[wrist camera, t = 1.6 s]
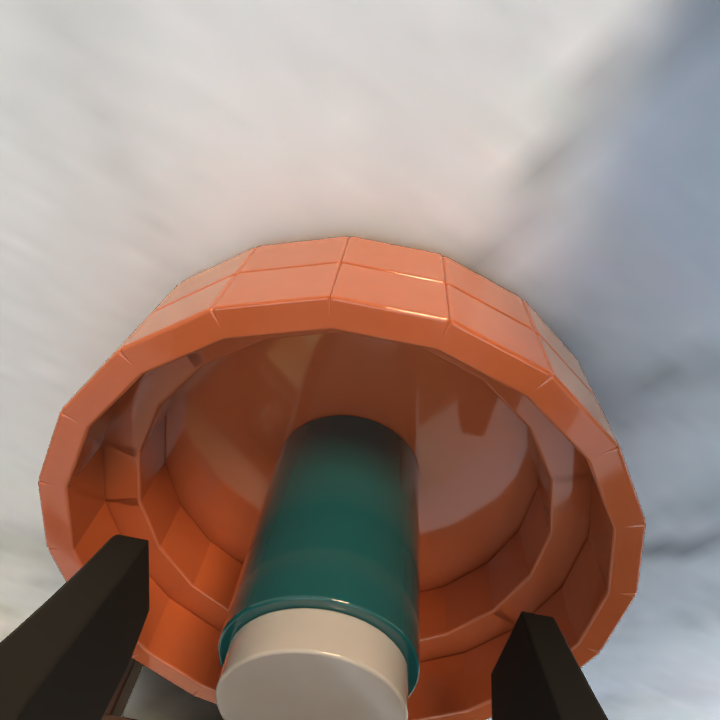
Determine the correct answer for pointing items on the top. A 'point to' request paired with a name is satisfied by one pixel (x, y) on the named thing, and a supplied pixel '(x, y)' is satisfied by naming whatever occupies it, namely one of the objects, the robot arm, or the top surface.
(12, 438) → the top surface
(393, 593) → the salt shaker
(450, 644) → the bowl
